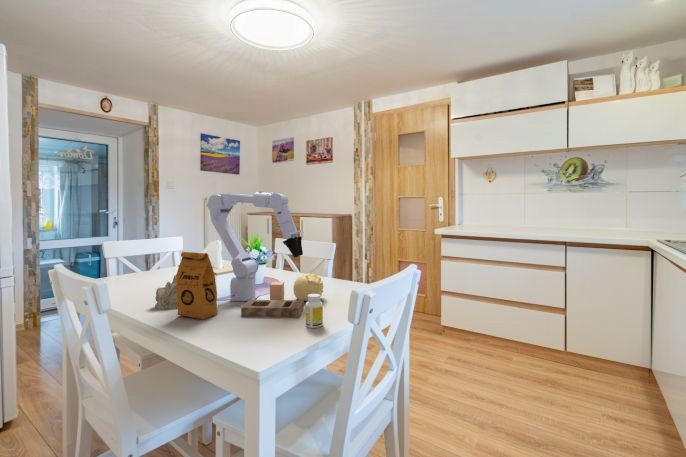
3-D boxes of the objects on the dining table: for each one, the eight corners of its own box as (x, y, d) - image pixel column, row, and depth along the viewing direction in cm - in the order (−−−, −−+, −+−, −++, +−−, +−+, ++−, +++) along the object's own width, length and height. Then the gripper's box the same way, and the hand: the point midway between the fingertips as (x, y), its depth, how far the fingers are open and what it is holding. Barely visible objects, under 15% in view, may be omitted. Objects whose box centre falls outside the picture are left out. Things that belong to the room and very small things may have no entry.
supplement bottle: (325, 323, 114) (325, 293, 113) (318, 329, 109) (318, 298, 108) (309, 321, 116) (309, 292, 115) (302, 327, 111) (302, 296, 110)
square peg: (270, 305, 134) (269, 284, 134) (272, 302, 139) (272, 282, 138) (281, 305, 134) (281, 284, 133) (284, 302, 138) (284, 282, 138)
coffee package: (200, 322, 115) (198, 255, 113) (172, 317, 120) (170, 252, 118) (222, 313, 124) (221, 251, 122) (196, 309, 129) (194, 249, 127)
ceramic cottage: (194, 294, 149) (191, 259, 147) (202, 305, 135) (199, 267, 133) (152, 302, 141) (148, 265, 139) (156, 315, 127) (152, 274, 125)
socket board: (241, 316, 121) (241, 307, 121) (249, 307, 131) (249, 299, 131) (299, 317, 120) (299, 308, 120) (303, 308, 130) (303, 300, 130)
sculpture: (322, 303, 137) (322, 276, 136) (291, 303, 137) (291, 276, 136) (324, 296, 148) (324, 270, 147) (295, 295, 148) (295, 270, 147)
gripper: (292, 218, 129) (305, 253, 128) (299, 220, 143) (311, 251, 143) (274, 225, 129) (287, 260, 129) (283, 226, 144) (294, 257, 143)
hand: (298, 256), depth 136 cm, fingers open, 7 cm apart
